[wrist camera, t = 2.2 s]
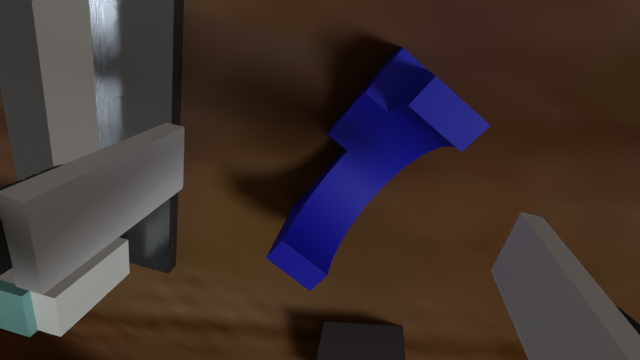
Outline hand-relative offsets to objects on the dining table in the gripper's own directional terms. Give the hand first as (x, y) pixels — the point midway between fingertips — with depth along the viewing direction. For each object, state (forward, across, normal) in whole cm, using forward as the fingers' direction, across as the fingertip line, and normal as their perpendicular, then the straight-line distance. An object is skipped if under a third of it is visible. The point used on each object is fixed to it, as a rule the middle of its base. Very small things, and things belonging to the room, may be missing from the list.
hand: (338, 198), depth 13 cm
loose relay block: (+8, -5, +16) cm, 19 cm away
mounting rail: (+8, +17, 0) cm, 19 cm away
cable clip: (+9, 0, +1) cm, 9 cm away
